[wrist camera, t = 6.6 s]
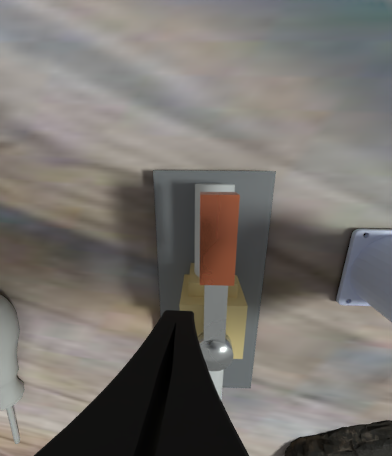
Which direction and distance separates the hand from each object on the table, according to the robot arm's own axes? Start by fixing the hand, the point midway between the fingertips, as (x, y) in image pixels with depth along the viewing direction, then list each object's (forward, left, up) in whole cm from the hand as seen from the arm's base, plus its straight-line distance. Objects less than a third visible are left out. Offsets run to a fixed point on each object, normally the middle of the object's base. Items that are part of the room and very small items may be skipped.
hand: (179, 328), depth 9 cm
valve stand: (-2, +5, -10) cm, 12 cm away
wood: (-23, +28, -11) cm, 38 cm away
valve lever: (-2, 0, -4) cm, 4 cm away
